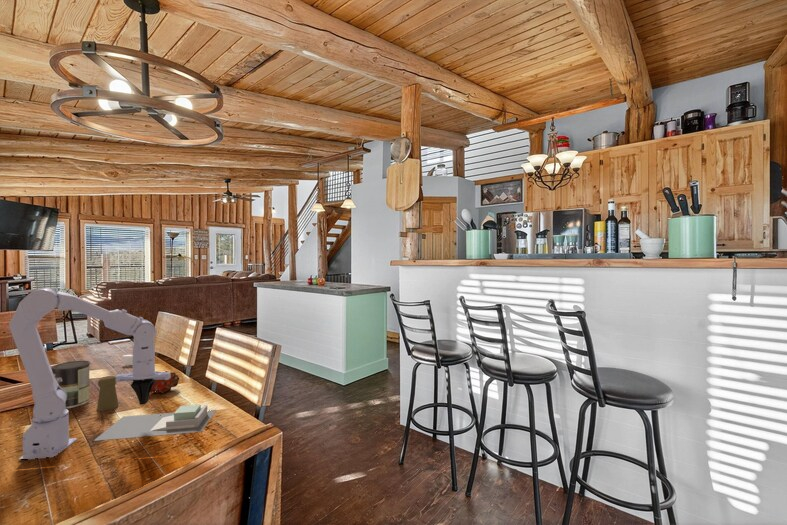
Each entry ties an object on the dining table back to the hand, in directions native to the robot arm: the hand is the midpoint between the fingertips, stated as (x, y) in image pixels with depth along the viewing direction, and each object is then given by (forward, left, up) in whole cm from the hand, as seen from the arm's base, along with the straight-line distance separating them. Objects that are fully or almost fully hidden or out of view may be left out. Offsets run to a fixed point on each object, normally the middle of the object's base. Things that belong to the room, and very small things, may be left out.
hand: (143, 403), depth 113 cm
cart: (0, -13, -6) cm, 14 cm away
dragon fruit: (+30, +7, -7) cm, 32 cm away
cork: (+17, +19, -7) cm, 26 cm away
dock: (0, -5, -7) cm, 8 cm away
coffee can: (+24, +34, -7) cm, 42 cm away
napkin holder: (+69, +33, -8) cm, 77 cm away
